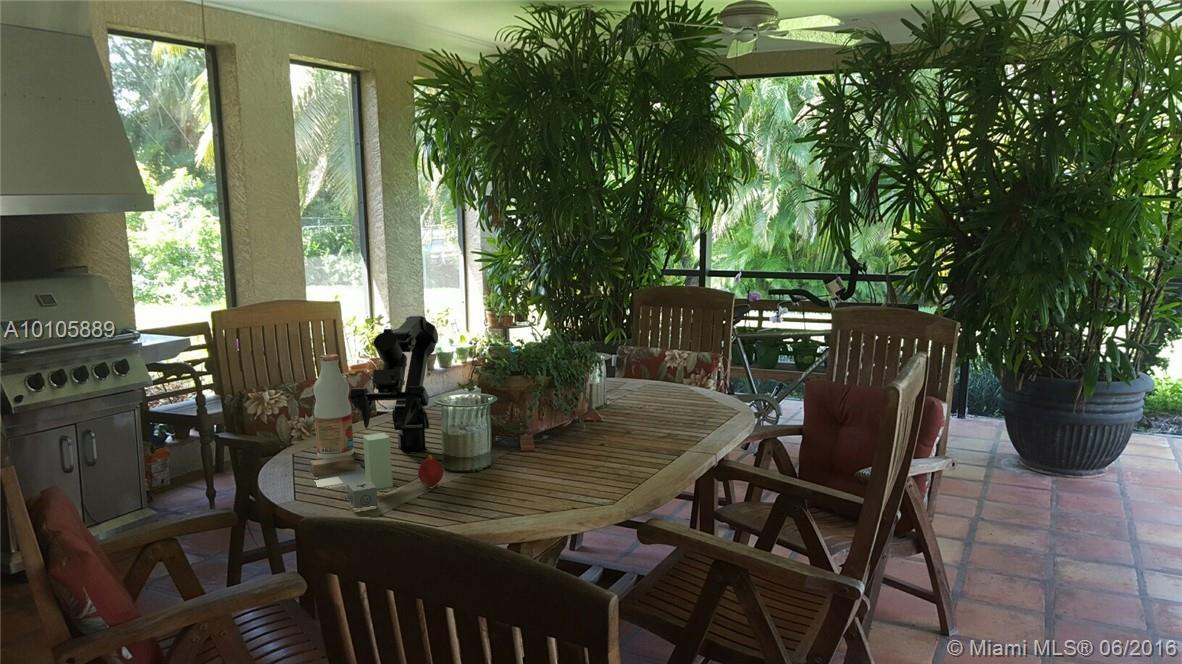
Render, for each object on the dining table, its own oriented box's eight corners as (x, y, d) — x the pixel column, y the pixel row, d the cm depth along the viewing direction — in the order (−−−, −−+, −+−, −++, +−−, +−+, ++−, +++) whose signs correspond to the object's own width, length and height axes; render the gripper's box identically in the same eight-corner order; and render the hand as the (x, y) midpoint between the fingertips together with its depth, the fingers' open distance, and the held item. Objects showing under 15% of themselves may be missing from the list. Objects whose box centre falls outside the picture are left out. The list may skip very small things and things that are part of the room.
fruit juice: (313, 457, 224) (306, 355, 220) (348, 451, 229) (341, 351, 225) (323, 465, 216) (315, 359, 212) (358, 459, 221) (352, 355, 217)
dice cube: (372, 502, 187) (370, 481, 186) (377, 509, 182) (376, 487, 182) (349, 506, 184) (348, 485, 184) (354, 513, 180) (353, 491, 179)
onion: (417, 485, 198) (415, 453, 197) (441, 482, 200) (439, 450, 199) (421, 492, 192) (419, 459, 191) (445, 489, 194) (444, 456, 193)
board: (359, 468, 212) (358, 463, 212) (375, 485, 199) (374, 480, 198) (302, 477, 206) (301, 472, 206) (314, 495, 192) (314, 490, 192)
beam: (351, 466, 210) (351, 454, 210) (355, 470, 207) (354, 458, 207) (311, 472, 206) (310, 461, 205) (314, 477, 202) (313, 465, 202)
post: (387, 485, 198) (384, 432, 197) (393, 491, 194) (389, 437, 192) (366, 489, 196) (363, 435, 194) (371, 494, 192) (368, 440, 190)
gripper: (347, 356, 204) (336, 411, 195) (422, 354, 203) (414, 409, 194) (360, 380, 213) (350, 434, 204) (432, 378, 212) (425, 431, 203)
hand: (384, 426), depth 201 cm, fingers open, 9 cm apart
